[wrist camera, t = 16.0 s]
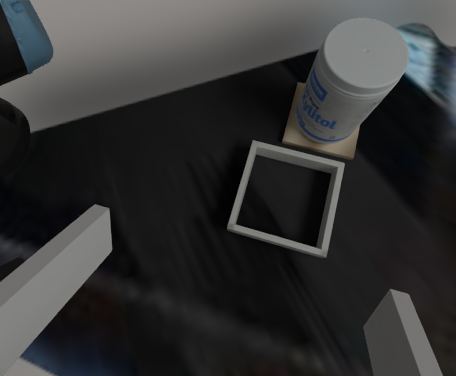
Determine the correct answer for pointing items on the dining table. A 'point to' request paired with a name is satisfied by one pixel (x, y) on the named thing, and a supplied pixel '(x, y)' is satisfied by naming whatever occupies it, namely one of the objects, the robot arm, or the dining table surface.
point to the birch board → (300, 140)
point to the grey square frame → (302, 160)
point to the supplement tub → (350, 78)
